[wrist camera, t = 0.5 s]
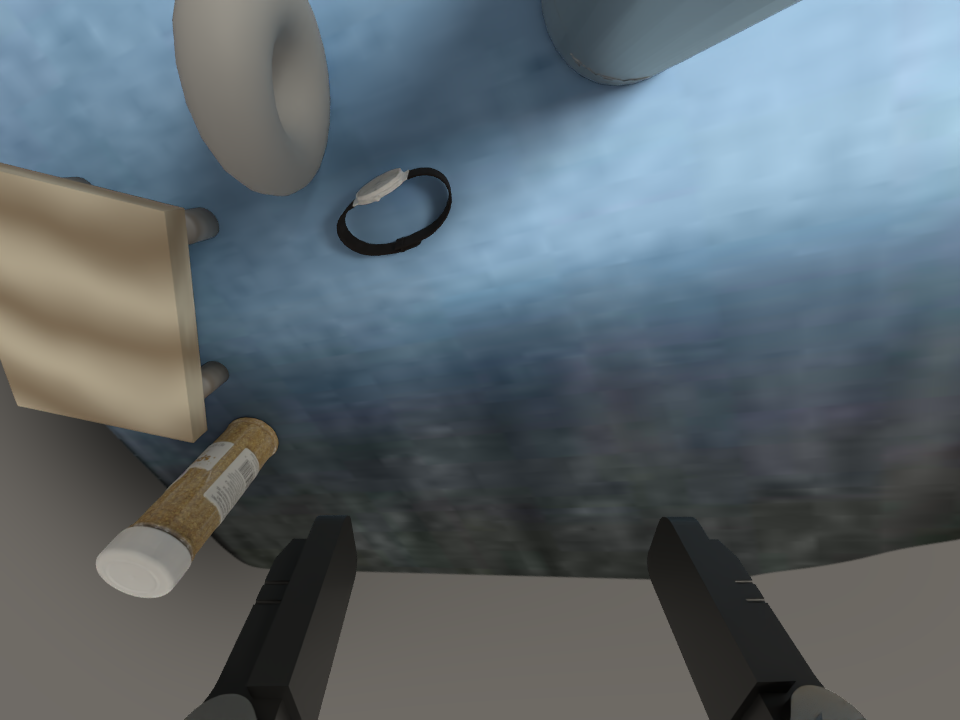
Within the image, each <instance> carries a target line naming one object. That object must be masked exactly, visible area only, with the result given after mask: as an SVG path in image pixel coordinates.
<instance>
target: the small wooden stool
mask: <svg viewBox="0 0 960 720" xmlns="http://www.w3.org/2000/svg"><path fill="white" fill-rule="evenodd" d="M218 232H219V223H218V221H217V219H216V217H215V216H214V215H213V213H211V212H210V211H209V210H207V209H205V208H193V209H187V210H185V209H184V208H182V207H178V206H173V205H169V204H165V203H161V202H157V201H153V200H149V199H145V198H141V197H137V196H133V195H129V194H125V193H121V192H117V191H113V190H109V189H105V188H101V187H97V186H93V185H91V184H90V183H89V182H88V181H86V180H85V179H83V178H80V177H66V178H60V177H56V176H52V175H48V174H44V173H40V172H36V171H32V170H28V169H24V168H20V167H16V166H12V165H8V164H4V163H0V360H1V362H2V365H3V368H4V370H5V373H6V376H7V379H8V381H9V384H10V387H11V390H12V392H13V395H14V397H15V400H16V403H17V406H21V407H26V408H31V409H36V410H40V411H45V412H50V413H54V414H59V415H64V416H69V417H73V418H78V419H83V420H88V421H93V422H98V423H102V424H106V425H111V426H116V427H121V428H125V429H130V430H135V431H139V432H144V433H149V434H154V435H158V436H163V437H168V438H173V439H177V440H182V441H187V442H191V443H194V442H195V441H196V440H197V439H198V438H199V437H200V436H201V435H202V434H203V433H205V432H206V431H207V423H206V413H205V403H204V399H205V398H206V397H207V396H208V395H210V394H211V393H212V392H213V391H214V390H216V389H217V388H218V387H219V386H221V385H222V384H223V383H224V382H225V381H227V380H228V378H229V373H228V370H227V369H226V367H225V366H224V365H222V364H221V363H219V362H216V361H210V362H207V363H206V364H204V365H203V366H202V367H201V365H200V355H199V345H198V335H197V326H196V316H195V306H194V296H193V287H192V277H191V267H190V257H189V248H188V245H189V244H192V243H196V242H199V241H203V240H206V239H210V238H213V237H215V236H216V235H217V234H218Z"/></svg>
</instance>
